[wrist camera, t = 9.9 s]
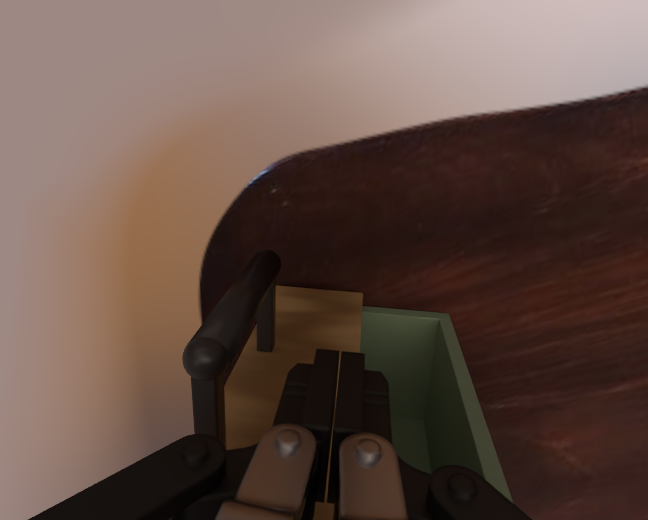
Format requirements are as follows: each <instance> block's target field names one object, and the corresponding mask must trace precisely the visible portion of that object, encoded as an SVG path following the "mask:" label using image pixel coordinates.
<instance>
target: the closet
mask: <svg viewBox="0 0 648 520" xmlns="http://www.w3.org/2000/svg"><path fill="white" fill-rule="evenodd" d="M360 353H365V370H371V371H380V372H381V373H382V374H383V376H384V377H385V378H386V380H387V381H388V385H389V401H390V416H391V431H392V443H393V447H394V448H395V450H396V453H397V454H398V456H399V457H400V458H401V459H402V460H403V461H404V462H406V463H407V464H409V465H410V466H412V467H414V468H416V469H418V470H421V471H423V472H426V473H429V474H431V475H432V473H433V472H434V471H435V470H436V469H437V468H439V467H441V466H445V465H458V466H463V467H466V468H468V469H471V470H473V471H474V472H476V473H478V474H479V475H480V476H482V477H483V478H484V479H485V480H486V481H488V482H489V483H490V484H491V485H492V486H493V487H495V488H496V489H497V490H498V491H499V492H500V493H502V494H503V495H504V496H505V497H506V498H507V499H509V500H510V501H511V502H512V503H513V501H512V498H511V495H510V492H509V489H508V486H507V484H506V481H505V478H504V475H503V472H502V469H501V466H500V463H499V460H498V457H497V454H496V451H495V448H494V445H493V442H492V439H491V436H490V434H489V431H488V428H487V425H486V422H485V419H484V416H483V413H482V410H481V407H480V404H479V401H478V398H477V395H476V392H475V389H474V386H473V383H472V381H471V378H470V375H469V372H468V369H467V366H466V363H465V360H464V357H463V354H462V351H461V348H460V345H459V342H458V339H457V336H456V333H455V331H454V328H453V325H452V322H451V319H450V316H449V314H448V313H437V312H425V311H414V310H403V309H392V308H381V307H369V306H362V323H361V340H360Z"/></svg>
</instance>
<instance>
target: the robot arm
mask: <svg viewBox="0 0 648 520" xmlns="http://www.w3.org/2000/svg"><path fill="white" fill-rule="evenodd" d="M339 354H340V351H337V350H327V349H318V348H317V349H316V354H315V358H314V363H313V364H305V363H297V364H296V365H295V366H294V367H293V368H292V369H291V370H290V371H289V372H288V375H287V378H286V381H285V385H284V388H283V391H282V395H281V398H280V401H279V405H278V408H277V412H276V415H275V418H274V422H273V425H272V427H271V428H270V429H268V430H267V431H266V432H265V433H264V434H263V435H262V437H261V438H260V441H259V442H258V443H256V444H254V445H252V446H249V447H244V448H238V449H231V450H226V448H225V445H224V443H223V442H222V441H221V440H220V439H218V438H217V437H215V436H212V435H209V434H193V435H189V436H185V437H183V438H181V439H179V440H177V441H175V442H173V443H171V444H169V445H168V446H166V447H164V448H162V449H160V450H158V451H156V452H154V453H153V454H151V455H149V456H147V457H145V458H143V459H141V460H139V461H137V462H136V463H134V464H132V465H130V466H128V467H126V468H125V469H122V470H121V471H119V472H117V473H115V474H113V475H111V476H109V477H107V478H106V479H104V480H102V481H100V482H98V483H96V484H94V485H93V486H91V487H89V488H87V489H85V490H83V491H81V492H79V493H77V494H75V495H74V496H72V497H70V498H68V499H66V500H64V501H62V502H60V503H59V504H57V505H55V506H53V507H51V508H49V509H47V510H46V511H43V512H42V513H40V514H38V515H36V516H34V517H32V518H30V519H28V520H313V518H314V512H315V505H316V502H322V503H324V499H325V490H326V481H327V472H328V463H329V455H330V446H331V437H332V447H331V459H330V470H329V482H328V494H327V503H331V504H334V512H333V520H532V519H531V518H530V517H528V516H527V515H526V514H525V513H524V512H523V511H521V510H520V509H519V508H518V507H517V506H516V505H514V504H513V503H512V502H511V501H510V500H509V499H507V498H506V497H505V496H504V495H503V494H502V493H500V492H499V491H498V490H497V489H496V488H495V487H493V486H492V485H491V484H490V483H489V482H488V481H486V480H485V479H484V478H483V477H482V476H480V475H479V474H478V473H476V472H474V471H473V470H471V469H468V468H466V467H463V466H458V465H445V466H441V467H439V468H437V469H436V470H435V471H434V472H433V473H432V475H431V474H429V473H426V472H423V471H421V470H418V469H416V468H414V467H412V466H410V465H409V464H407V463H406V462H404V461H403V460H402V459H401V458H400V457H399V456H398V454H397V453H396V450H395V448H394V447H393V443H392V431H391V416H390V401H389V385H388V381H387V380H386V378H385V377H384V376H383V374H382V373H381V372H380V371H371V370H365V353H356V352H347V351H342V353H341V362H340V371H339V380H338V389H337V377H338V366H339ZM336 389H337V398H336ZM335 400H336V407H335ZM334 410H335V416H334ZM333 419H334V425H333ZM332 428H333V436H332Z"/></svg>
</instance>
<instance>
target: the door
mask: <svg viewBox="0 0 648 520" xmlns="http://www.w3.org/2000/svg"><path fill="white" fill-rule="evenodd" d="M280 269H281V260H280V258H279V256H278V255H277V254H276V253H275V252H274V251H271V250H261V251H259V252H257V253H256V254H255V255H254V256H253V258H252V259H251V260H250V262H249V263H248V264H247V266H246V267H245V268H244V270H243V271H242V272H241V274H240V275H239V276H238V278H237V279H236V280H235V282H234V283H233V284H232V286H231V287H230V288H229V290H228V291H227V292H226V294H225V295H224V296H223V298H222V299H221V300H220V302H219V303H218V304H217V306H216V307H215V308H214V310H213V311H212V312H211V314H210V315H209V316H208V318H207V319H206V320H205V322H204V323H203V324H202V326H201V327H200V328H199V330H198V331H197V332H196V334H195V335H194V336H193V338H192V339H191V340H190V342H189V343H188V345H187V346H186V348H185V350H184V353H183V365H184V368H185V370H186V371H187V373H188V374H189V375H190V376H191V385H192V400H193V416H194V431H195V434H209V435H212V436H215V437H217V438H218V439H220V440H221V441H222V442H223V443H224V445H225V448H226V450H231V449H238V448H244V447H249V446H252V445H254V444H256V443H258V442H259V441H260V438H261V437H262V435H263V434H264V433H265V432H266V431H267V430H268V429H270V428H271V427H272V425H273V422H274V418H275V415H276V412H277V408H278V405H279V401H280V398H281V395H282V391H283V388H284V385H285V381H286V378H287V375H288V372H289V371H290V370H291V369H292V368H293V367H294V366H295V365H296V364H297V363H305V364H313V363H314V358H315V354H316V349H317V348H318V349H327V350H337V351H340V354H339V366H338V377H337V389H338V380H339V371H340V362H341V353H342V351H347V352H356V353H360V340H361V323H362V305H363V293H357V292H345V291H334V290H322V289H311V288H299V287H288V286H276V277H277V275H278V273H279V272H280ZM256 314H257V324H256V326H255V328H254V330H253V332H252V334H251V335H250V337H249V339H248V341H247V343H246V345H245V347H244V349H243V351H242V353H241V355H240V357H239V359H238V361H237V363H236V364H235V366H234V368H233V370H232V372H231V374H230V376H229V378H228V380H227V382H226V384H225V386H224V372H225V371H226V370H227V368H228V366H229V364H230V362H231V361H232V359H233V357H234V355H235V353H236V351H237V349H238V348H239V346H240V344H241V342H242V340H243V338H244V336H245V335H246V333H247V331H248V329H249V327H250V325H251V323H252V322H253V320H254V318H255V316H256ZM337 389H336V398H337ZM335 407H336V400H335ZM334 416H335V410H334ZM333 425H334V419H333ZM332 436H333V428H332ZM331 447H332V437H331V446H330V455H329V463H328V472H327V481H326V490H325V499H324V503H322V502H316V505H315V512H314V518H313V520H333V512H334V504H331V503H327V494H328V482H329V470H330V459H331Z"/></svg>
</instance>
